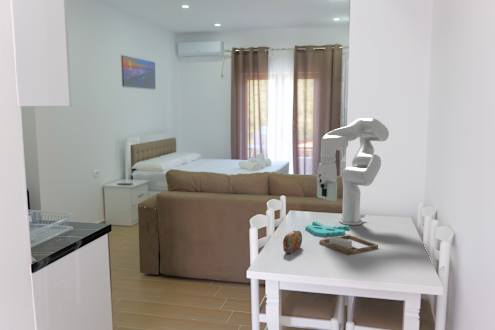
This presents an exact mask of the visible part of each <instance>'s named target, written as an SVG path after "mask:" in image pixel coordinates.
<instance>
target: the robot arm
mask: <svg viewBox="0 0 495 330" xmlns="http://www.w3.org/2000/svg"><path fill="white" fill-rule="evenodd" d="M389 133H390V132H389V129H388V127H387V126H386V125H385V124H383V123H382V122H381V121H380V120H378V119H377V118H373V117H372V118H371V117H369V118H367V117H362V118H361V117H360V118H357V119H355V120H353V122H351V123H349V124H348V125H347V126H343V127H340V128H336V129H333V130H331V131H329V132H327V133H325V135H323V136H322V137H321V140H320V163H318V167H317V171H316V172H317V175H316V181H317V182H316V185H317V184H318V185H319V186H320V187H321V188H322V196H325V197H326V196H327V189H326V184H327V183H328V182H334V183H338V179H337V177H338V171H337V163H336V161H337V158H336V151H345V150H346V149H347V147H348V146H349V142H351V141H355V140H357V139H358V138H359V148H358V150H357V152H356V153H355V155H354V157H352V158H353V159H352V161H351V166H347V167H345V168H344V169H342V171H341V179H342V180H341V181H342V209H341V210H342V215H341V218H339V220H338V222H339V223H340V224H343V225H347V226H358V225H362V224H363V220H361V219H364V218H366V214H361V213H360V212H361V211H360V209H361V208H360V207H361V205H360V204H361V189H360V187H359V186H363V187H369V186H371V185H372V183H374V180H375V179H376V176H378V173H379V171H380V169H381V167H382V166H381V165H382V159H381V157H380V155H378V154H374V152H375V148H374V146H373V144H372V142H385V141H387V140H388V139H389V135H390V134H389ZM323 184H324V185H323Z"/></svg>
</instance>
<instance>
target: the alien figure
mask: <svg viewBox="0 0 495 330" xmlns="http://www.w3.org/2000/svg"><path fill="white" fill-rule="evenodd" d="M304 228H305V230H304V231H307V232H308V233H310V234H312V235H313V236H317V237H324V238H325V237H332V236H334V237H339V236H345V234H346V231H349V230H350V225H346V224H344V225H339V226H336V225H335V226H328V225H324V224H323V223H322V224H321V223H320V222H318V221H316V220H314V221H312V225H311V224H308V225H306V226H305V227H304Z"/></svg>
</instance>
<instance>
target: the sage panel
mask: <svg viewBox="0 0 495 330" xmlns="http://www.w3.org/2000/svg"><path fill="white" fill-rule="evenodd" d="M338 184H339V183H338V182H337V183H334V182H328V183H327V184H326V189H327V196H326V197H325V196H322V188H321V187H320V186H319V185H318V184H317V183H316V198H320V199H323V200H327V201H330V202H337V201H338ZM323 185H324V184H323Z"/></svg>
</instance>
